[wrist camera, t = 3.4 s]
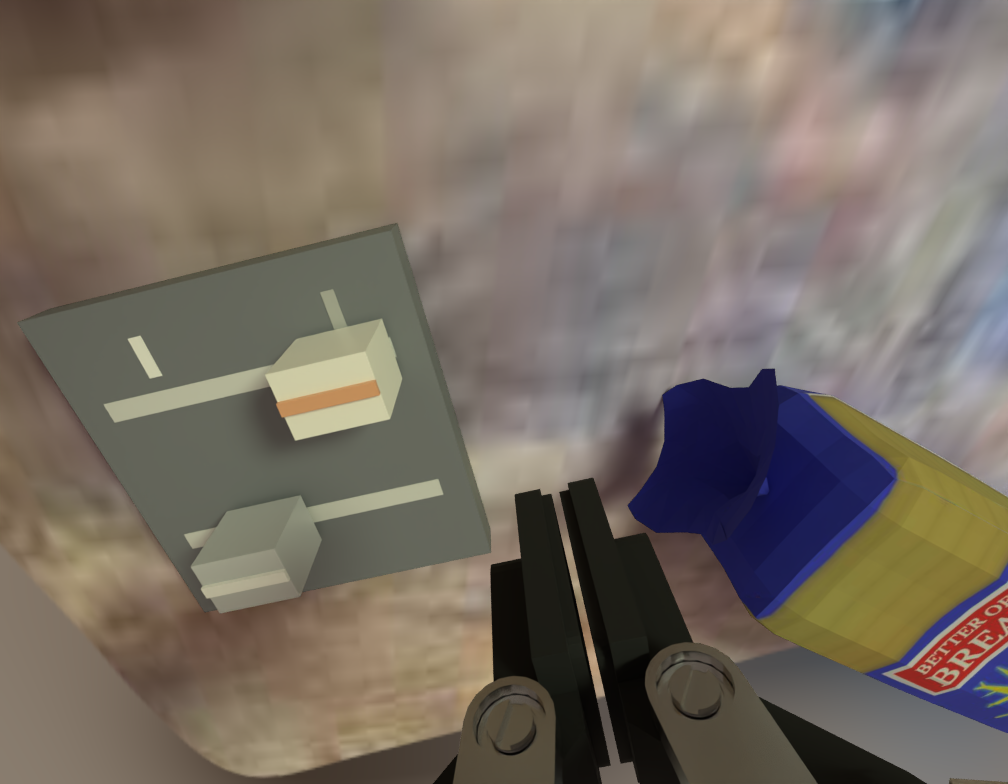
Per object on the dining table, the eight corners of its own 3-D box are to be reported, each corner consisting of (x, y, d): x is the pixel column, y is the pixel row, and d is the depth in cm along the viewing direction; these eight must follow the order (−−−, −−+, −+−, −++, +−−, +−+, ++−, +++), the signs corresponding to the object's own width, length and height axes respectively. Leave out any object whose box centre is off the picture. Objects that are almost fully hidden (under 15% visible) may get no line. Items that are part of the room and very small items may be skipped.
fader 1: (300, 495, 28) (272, 551, 24) (321, 539, 30) (299, 599, 26) (226, 511, 28) (188, 569, 25) (251, 554, 30) (218, 616, 26)
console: (396, 223, 25) (390, 230, 23) (490, 529, 33) (491, 553, 31) (49, 309, 26) (16, 322, 24) (219, 586, 34) (204, 613, 32)
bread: (902, 611, 37) (1043, 772, 28) (599, 467, 31) (651, 611, 22) (1026, 503, 34) (1236, 646, 24) (712, 316, 28) (831, 411, 18)
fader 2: (381, 318, 24) (364, 353, 21) (402, 378, 26) (389, 421, 22) (296, 339, 25) (262, 377, 21) (320, 397, 26) (293, 442, 22)
